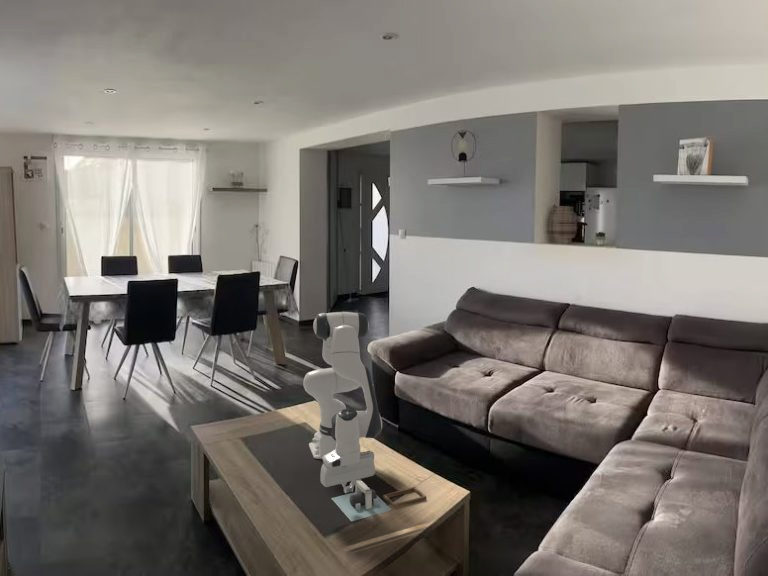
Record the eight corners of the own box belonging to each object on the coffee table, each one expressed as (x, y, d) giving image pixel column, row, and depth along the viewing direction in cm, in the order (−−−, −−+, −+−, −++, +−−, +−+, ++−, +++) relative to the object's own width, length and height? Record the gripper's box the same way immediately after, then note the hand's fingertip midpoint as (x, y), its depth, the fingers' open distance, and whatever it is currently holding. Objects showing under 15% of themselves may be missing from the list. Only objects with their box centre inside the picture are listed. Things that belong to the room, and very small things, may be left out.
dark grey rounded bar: (350, 504, 216) (349, 493, 216) (372, 498, 220) (371, 488, 220) (354, 508, 213) (354, 498, 212) (376, 502, 217) (376, 492, 216)
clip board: (331, 500, 221) (331, 493, 220) (369, 490, 228) (369, 483, 227) (351, 524, 205) (351, 515, 204) (392, 512, 212) (392, 504, 212)
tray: (383, 500, 221) (383, 494, 220) (414, 491, 227) (414, 486, 227) (394, 510, 213) (394, 505, 213) (426, 501, 219) (426, 496, 219)
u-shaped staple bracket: (355, 497, 220) (355, 480, 219) (360, 496, 221) (360, 479, 220) (366, 509, 212) (366, 491, 211) (371, 508, 213) (371, 490, 212)
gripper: (370, 446, 218) (370, 481, 221) (318, 457, 209) (319, 494, 211) (378, 452, 213) (378, 488, 215) (325, 464, 204) (325, 502, 206)
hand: (348, 491), depth 213 cm, fingers closed
